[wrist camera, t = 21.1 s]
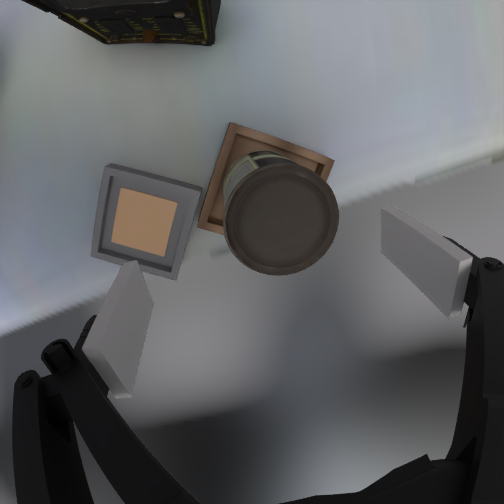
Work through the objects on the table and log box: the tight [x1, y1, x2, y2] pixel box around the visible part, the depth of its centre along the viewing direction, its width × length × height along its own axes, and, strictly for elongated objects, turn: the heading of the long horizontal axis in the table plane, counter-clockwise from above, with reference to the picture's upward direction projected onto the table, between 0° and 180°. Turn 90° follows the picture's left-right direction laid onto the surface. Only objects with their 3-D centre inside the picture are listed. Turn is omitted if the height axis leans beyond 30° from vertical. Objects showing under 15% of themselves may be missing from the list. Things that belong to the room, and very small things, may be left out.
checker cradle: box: [91, 164, 202, 280], centre depth 39 cm, size 13×13×2 cm
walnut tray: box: [197, 122, 335, 235], centre depth 38 cm, size 14×14×4 cm
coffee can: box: [223, 150, 339, 275], centre depth 32 cm, size 10×10×14 cm
